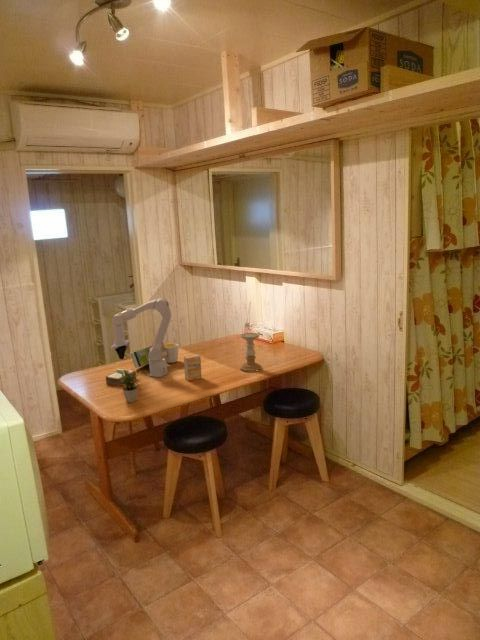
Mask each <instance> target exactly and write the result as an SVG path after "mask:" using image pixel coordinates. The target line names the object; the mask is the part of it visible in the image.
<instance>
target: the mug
mask: <svg viewBox="0 0 480 640" xmlns="http://www.w3.org/2000/svg"><path fill="white" fill-rule="evenodd" d="M163 344H164V343H163ZM164 347H165V349H166V352H167V355H168V357H166V358H164V360H165V361H166V363H169V364H172V363H176V362H177V361H178V359H179V350H180V348H179V347H180V346H179V344H178V343H174V342H173V343H171V342H170V343H165V344H164Z"/></svg>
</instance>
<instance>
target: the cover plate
mask: <svg viewBox="0 0 480 640" xmlns="http://www.w3.org/2000/svg"><path fill="white" fill-rule="evenodd" d="M117 370H118V371H117ZM124 370H125V371H126V372H127V373H128V374H129V373H130V372H131V373H132V372H134V371H135V370H132V369H122V368H116V369H115V372H116V373H114V372H113V373H114V374H112V373H111V374H112V375H110V374H109V375H110V376H108V375H107V376H108V378H113V379H120V378H122V377H123V376H122V374H123V375H124V376H125V371H124ZM119 371H120V372H121V373H122V374H121V373H120V372H119ZM129 371H130V372H129ZM115 376H118V377H115Z"/></svg>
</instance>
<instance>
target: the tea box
mask: <svg viewBox="0 0 480 640" xmlns="http://www.w3.org/2000/svg"><path fill="white" fill-rule="evenodd" d="M153 345H154V343H153V344H151V345H148V346H144V347H141V348H139V349H138V350H134V351H132V352H130V353H129V355H130V357H131V360H132V363H133V366H134V368H135V369H137V368H141V367H145V366H148V365H149V357H148V354H149V352H150V349H151V347H152V346H153ZM160 356H161V357H162V360H164V359H165V358H166V357H168V355H167V352H166V349H165V347H164V342H163V343H162V346H161V353H160Z"/></svg>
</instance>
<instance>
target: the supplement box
mask: <svg viewBox="0 0 480 640" xmlns="http://www.w3.org/2000/svg"><path fill="white" fill-rule="evenodd" d="M201 357H202V356H201V355H199V353H197V354H193V355H192V354H191V355H186V356H183V363H184V364H183V366H184V368H183V369H184V379H185V380H186V381H187V382H190V381H195V379H196V380H199V378H201V379H202V377H203V375H202V359H201Z"/></svg>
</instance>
